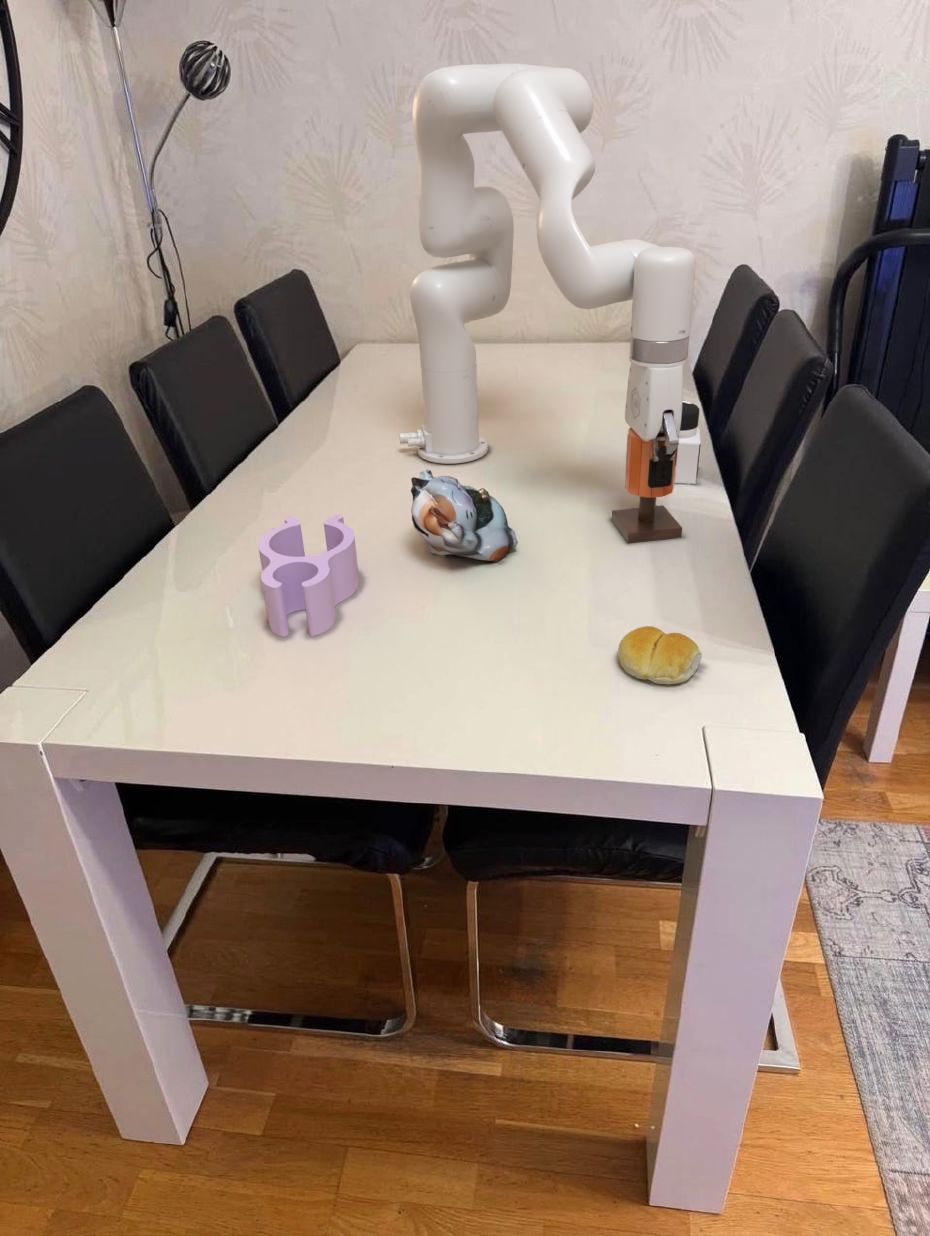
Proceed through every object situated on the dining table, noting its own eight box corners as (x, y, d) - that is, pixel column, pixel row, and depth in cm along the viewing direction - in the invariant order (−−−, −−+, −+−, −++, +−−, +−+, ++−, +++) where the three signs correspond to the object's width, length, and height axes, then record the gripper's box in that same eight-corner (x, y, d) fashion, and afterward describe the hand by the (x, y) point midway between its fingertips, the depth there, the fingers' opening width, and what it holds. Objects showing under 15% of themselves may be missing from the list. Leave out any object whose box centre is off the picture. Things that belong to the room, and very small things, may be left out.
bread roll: (634, 637, 107) (636, 608, 105) (707, 658, 102) (710, 629, 100) (604, 672, 101) (605, 642, 99) (679, 695, 97) (683, 665, 95)
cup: (633, 499, 125) (637, 441, 121) (619, 481, 131) (621, 425, 126) (680, 494, 126) (685, 436, 121) (663, 476, 131) (668, 420, 127)
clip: (349, 634, 110) (342, 585, 106) (247, 637, 110) (238, 588, 106) (364, 558, 127) (359, 514, 123) (276, 561, 127) (269, 517, 123)
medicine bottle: (696, 484, 144) (704, 412, 138) (651, 482, 146) (656, 411, 140) (695, 468, 150) (703, 398, 144) (652, 466, 152) (657, 396, 146)
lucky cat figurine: (528, 560, 124) (496, 495, 114) (451, 598, 125) (412, 538, 115) (495, 492, 134) (462, 426, 123) (423, 529, 135) (385, 467, 124)
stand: (627, 543, 128) (632, 459, 121) (611, 520, 135) (615, 439, 128) (681, 537, 129) (689, 454, 122) (662, 514, 135) (669, 434, 129)
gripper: (611, 335, 125) (606, 457, 134) (653, 369, 110) (644, 503, 119) (663, 331, 126) (655, 452, 135) (712, 364, 111) (698, 497, 120)
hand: (650, 475), depth 127 cm, fingers closed on cup, 6 cm apart
